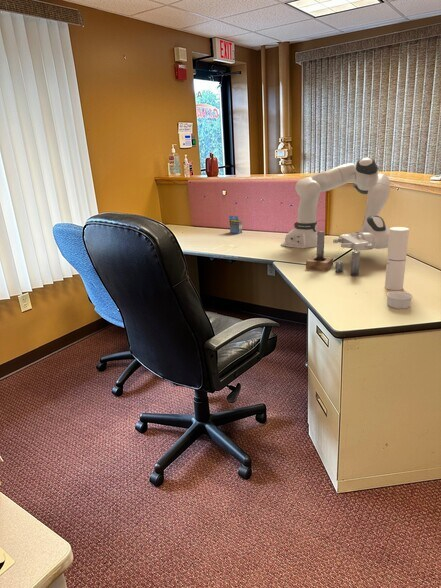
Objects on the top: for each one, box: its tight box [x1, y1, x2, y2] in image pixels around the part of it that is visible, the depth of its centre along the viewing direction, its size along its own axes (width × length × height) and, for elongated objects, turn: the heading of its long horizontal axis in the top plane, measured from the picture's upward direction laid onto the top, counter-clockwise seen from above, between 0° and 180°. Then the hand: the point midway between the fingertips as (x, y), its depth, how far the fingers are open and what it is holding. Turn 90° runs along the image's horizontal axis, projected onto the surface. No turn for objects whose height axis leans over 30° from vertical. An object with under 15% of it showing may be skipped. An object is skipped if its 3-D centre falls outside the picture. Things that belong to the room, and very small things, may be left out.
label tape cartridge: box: [228, 215, 243, 235], centre depth 297 cm, size 9×4×12 cm, turn 47°
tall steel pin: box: [315, 230, 326, 261], centre depth 206 cm, size 4×4×18 cm
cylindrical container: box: [384, 226, 410, 291], centre depth 171 cm, size 7×7×25 cm
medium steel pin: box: [350, 250, 361, 277], centre depth 192 cm, size 4×4×11 cm
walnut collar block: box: [305, 255, 334, 272], centre depth 208 cm, size 10×10×4 cm
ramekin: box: [386, 290, 413, 310], centre depth 156 cm, size 9×9×4 cm
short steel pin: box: [335, 261, 344, 274], centre depth 199 cm, size 4×4×4 cm
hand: (337, 243), depth 206 cm, fingers open, 8 cm apart
